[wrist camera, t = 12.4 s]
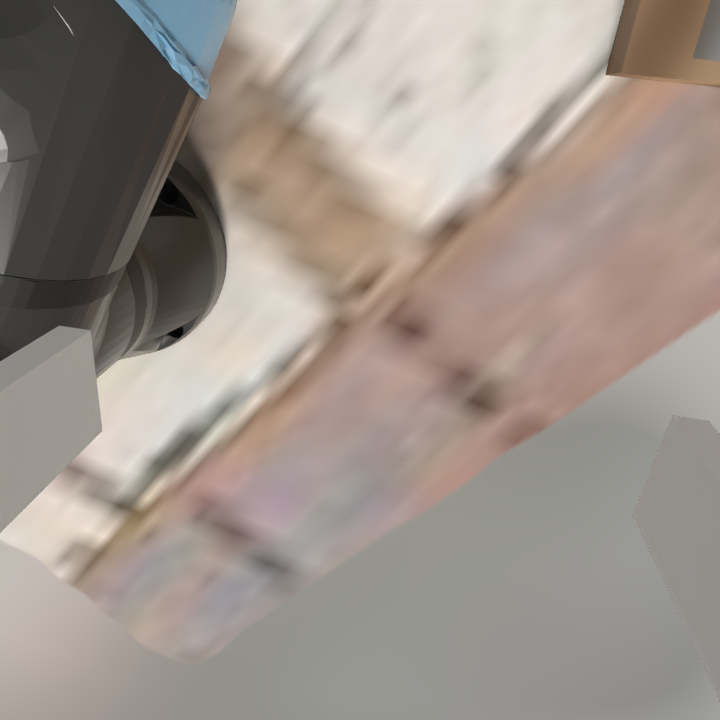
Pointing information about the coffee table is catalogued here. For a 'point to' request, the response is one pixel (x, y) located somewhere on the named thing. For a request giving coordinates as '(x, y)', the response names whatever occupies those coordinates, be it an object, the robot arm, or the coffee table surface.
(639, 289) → the coffee table surface
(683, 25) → the wooden pallet
